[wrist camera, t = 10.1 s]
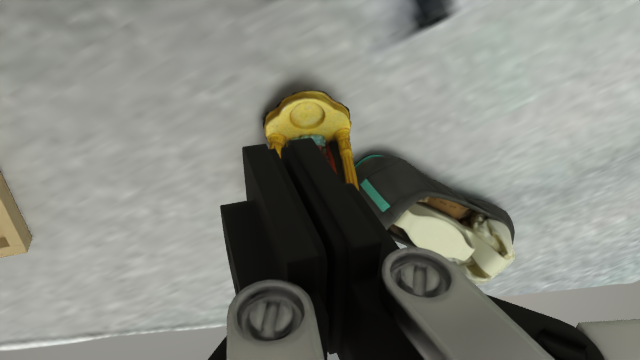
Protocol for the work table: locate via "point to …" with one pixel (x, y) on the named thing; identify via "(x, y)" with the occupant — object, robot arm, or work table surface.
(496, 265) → the dark grey shoe
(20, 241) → the boot tray
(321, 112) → the shrine
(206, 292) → the work table surface
